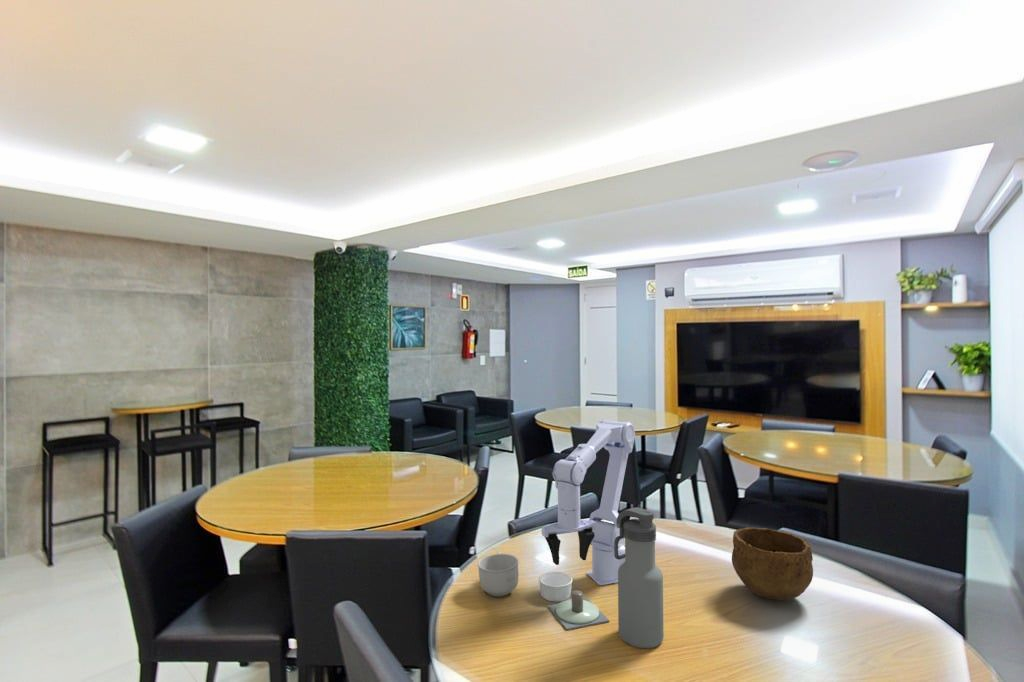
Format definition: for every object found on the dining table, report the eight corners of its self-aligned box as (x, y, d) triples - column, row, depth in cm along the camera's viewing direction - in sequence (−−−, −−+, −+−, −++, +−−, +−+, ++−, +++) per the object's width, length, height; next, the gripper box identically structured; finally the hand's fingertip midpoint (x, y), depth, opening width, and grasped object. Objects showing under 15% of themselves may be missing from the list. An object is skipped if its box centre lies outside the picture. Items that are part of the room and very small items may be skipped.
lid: (580, 597, 127) (580, 579, 127) (608, 615, 118) (607, 596, 118) (547, 608, 122) (547, 590, 122) (574, 628, 113) (573, 608, 113)
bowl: (808, 586, 133) (807, 531, 134) (818, 621, 116) (817, 557, 117) (732, 573, 141) (731, 521, 142) (731, 604, 124) (730, 544, 125)
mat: (587, 599, 127) (587, 598, 127) (609, 621, 116) (609, 620, 116) (548, 607, 123) (548, 605, 123) (566, 630, 113) (566, 628, 113)
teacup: (514, 603, 125) (514, 571, 126) (473, 598, 127) (473, 567, 128) (523, 578, 139) (523, 549, 139) (486, 575, 141) (486, 546, 141)
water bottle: (607, 633, 111) (606, 509, 112) (635, 619, 117) (634, 501, 118) (644, 655, 103) (643, 521, 104) (672, 639, 109) (671, 511, 110)
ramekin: (534, 589, 133) (534, 572, 133) (565, 585, 135) (565, 569, 135) (544, 605, 124) (544, 588, 124) (577, 601, 126) (577, 584, 126)
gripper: (586, 499, 132) (587, 550, 132) (536, 506, 128) (537, 559, 127) (599, 507, 126) (600, 561, 126) (547, 514, 121) (548, 570, 121)
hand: (569, 561), depth 126 cm, fingers open, 7 cm apart
